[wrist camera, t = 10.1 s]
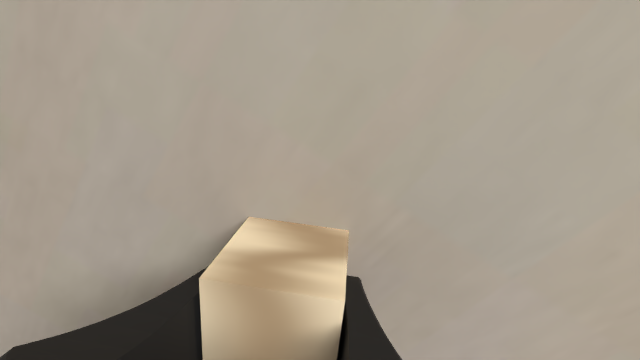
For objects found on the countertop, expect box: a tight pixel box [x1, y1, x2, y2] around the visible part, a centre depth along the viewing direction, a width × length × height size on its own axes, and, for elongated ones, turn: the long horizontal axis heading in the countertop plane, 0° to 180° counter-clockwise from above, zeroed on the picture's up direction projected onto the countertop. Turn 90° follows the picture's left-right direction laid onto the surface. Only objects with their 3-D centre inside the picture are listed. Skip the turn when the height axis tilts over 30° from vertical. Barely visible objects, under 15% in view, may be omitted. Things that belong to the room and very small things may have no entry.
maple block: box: [199, 217, 349, 360], centre depth 12 cm, size 4×4×4 cm
